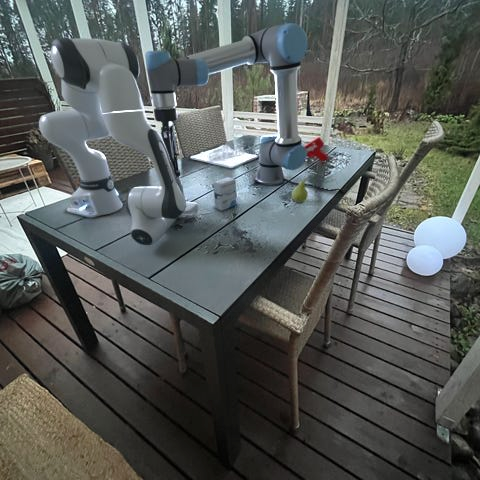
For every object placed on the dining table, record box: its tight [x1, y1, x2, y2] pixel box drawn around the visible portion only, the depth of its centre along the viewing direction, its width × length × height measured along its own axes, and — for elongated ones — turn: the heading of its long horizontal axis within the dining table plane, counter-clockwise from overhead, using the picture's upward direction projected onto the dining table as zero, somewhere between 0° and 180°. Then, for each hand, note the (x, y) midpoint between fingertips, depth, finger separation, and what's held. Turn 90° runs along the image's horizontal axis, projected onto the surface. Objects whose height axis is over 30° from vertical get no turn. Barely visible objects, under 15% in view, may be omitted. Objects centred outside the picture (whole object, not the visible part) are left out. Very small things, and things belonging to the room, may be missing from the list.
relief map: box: [190, 144, 259, 169], centre depth 178 cm, size 27×35×5 cm
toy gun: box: [303, 136, 329, 164], centre depth 170 cm, size 18×4×15 cm
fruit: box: [291, 174, 311, 204], centre depth 118 cm, size 7×8×12 cm
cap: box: [176, 168, 182, 178], centre depth 102 cm, size 4×4×2 cm
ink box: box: [212, 176, 237, 211], centre depth 115 cm, size 8×5×12 cm, turn 135°
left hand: (178, 199), depth 109 cm, fingers closed on bottle, 5 cm apart
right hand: (174, 175), depth 102 cm, fingers closed on cap, 4 cm apart
